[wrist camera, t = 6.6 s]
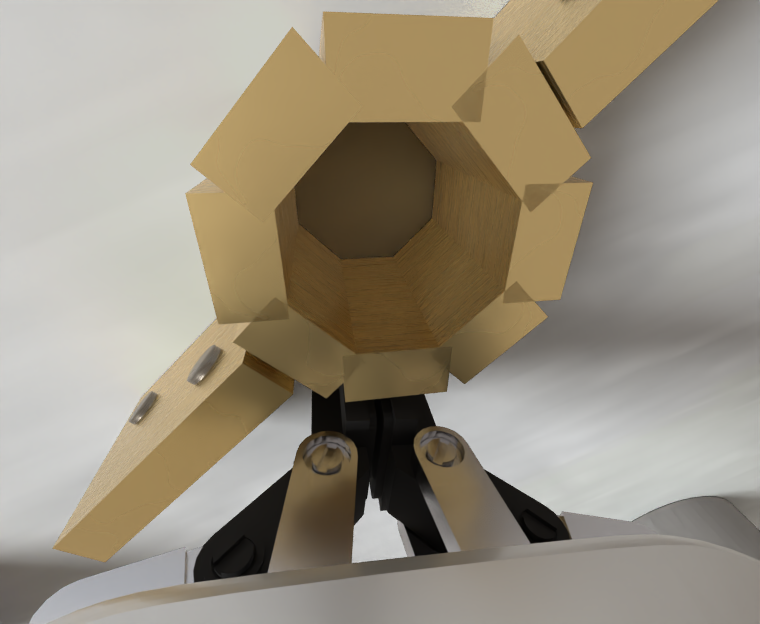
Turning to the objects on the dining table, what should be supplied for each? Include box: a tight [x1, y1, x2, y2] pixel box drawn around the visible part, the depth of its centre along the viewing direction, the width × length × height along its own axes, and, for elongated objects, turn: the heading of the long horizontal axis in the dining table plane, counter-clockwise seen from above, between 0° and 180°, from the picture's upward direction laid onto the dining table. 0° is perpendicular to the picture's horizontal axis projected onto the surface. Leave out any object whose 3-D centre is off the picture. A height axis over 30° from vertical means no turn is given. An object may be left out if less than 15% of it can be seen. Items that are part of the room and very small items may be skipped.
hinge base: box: [185, 0, 718, 402], centre depth 7 cm, size 6×14×5 cm, turn 134°
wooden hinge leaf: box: [53, 319, 294, 562], centre depth 10 cm, size 7×2×5 cm, turn 133°
